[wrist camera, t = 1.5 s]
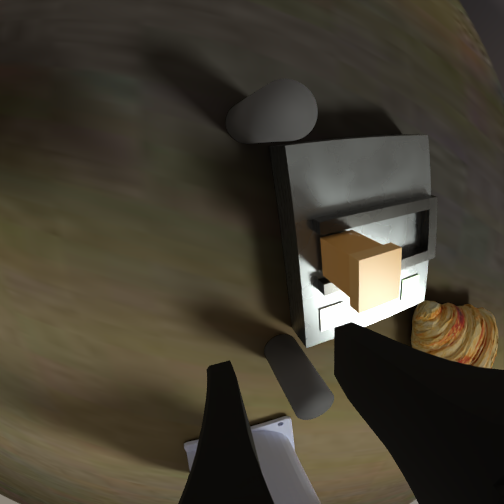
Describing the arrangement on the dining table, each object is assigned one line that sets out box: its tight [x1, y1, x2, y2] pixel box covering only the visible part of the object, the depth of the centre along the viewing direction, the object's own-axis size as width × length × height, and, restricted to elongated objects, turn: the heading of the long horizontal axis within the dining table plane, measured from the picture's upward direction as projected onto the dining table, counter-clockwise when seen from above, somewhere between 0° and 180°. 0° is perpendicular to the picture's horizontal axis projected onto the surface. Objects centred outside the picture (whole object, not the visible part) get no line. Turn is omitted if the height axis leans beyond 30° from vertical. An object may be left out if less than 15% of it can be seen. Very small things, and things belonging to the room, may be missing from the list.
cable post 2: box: [264, 334, 334, 420], centre depth 18 cm, size 2×2×6 cm
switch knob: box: [320, 230, 402, 314], centre depth 15 cm, size 2×3×4 cm
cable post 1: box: [226, 79, 318, 144], centre depth 13 cm, size 2×2×6 cm
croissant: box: [411, 300, 498, 368], centre depth 25 cm, size 21×10×8 cm, turn 52°
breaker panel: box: [269, 134, 437, 348], centre depth 18 cm, size 10×12×3 cm
